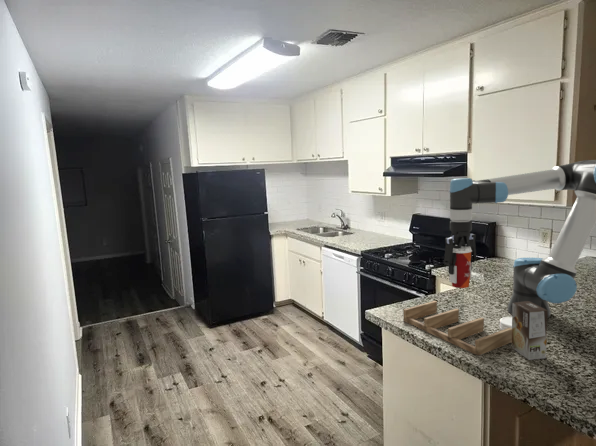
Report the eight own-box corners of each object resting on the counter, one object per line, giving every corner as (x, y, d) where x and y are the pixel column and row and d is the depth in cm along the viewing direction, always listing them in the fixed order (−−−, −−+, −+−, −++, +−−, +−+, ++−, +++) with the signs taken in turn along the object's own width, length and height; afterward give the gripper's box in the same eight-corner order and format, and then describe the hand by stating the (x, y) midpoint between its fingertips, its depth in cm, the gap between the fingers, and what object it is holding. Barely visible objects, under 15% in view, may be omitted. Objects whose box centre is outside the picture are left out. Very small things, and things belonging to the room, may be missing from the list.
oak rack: (512, 342, 135) (512, 328, 135) (478, 355, 127) (478, 341, 127) (434, 311, 166) (434, 300, 165) (403, 321, 158) (403, 309, 157)
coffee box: (547, 358, 123) (549, 310, 121) (528, 360, 123) (530, 312, 121) (527, 345, 132) (529, 300, 130) (510, 347, 132) (511, 302, 130)
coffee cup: (474, 289, 141) (474, 249, 139) (450, 289, 143) (450, 249, 141) (469, 282, 150) (469, 244, 147) (447, 282, 151) (446, 244, 149)
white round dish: (502, 334, 142) (502, 325, 141) (496, 323, 151) (497, 315, 151) (533, 336, 139) (533, 327, 138) (525, 325, 148) (525, 316, 148)
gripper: (470, 216, 150) (470, 273, 154) (433, 222, 141) (433, 282, 145) (488, 218, 144) (487, 278, 147) (449, 224, 135) (449, 288, 138)
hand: (460, 280), depth 146 cm, fingers closed on coffee cup, 7 cm apart
